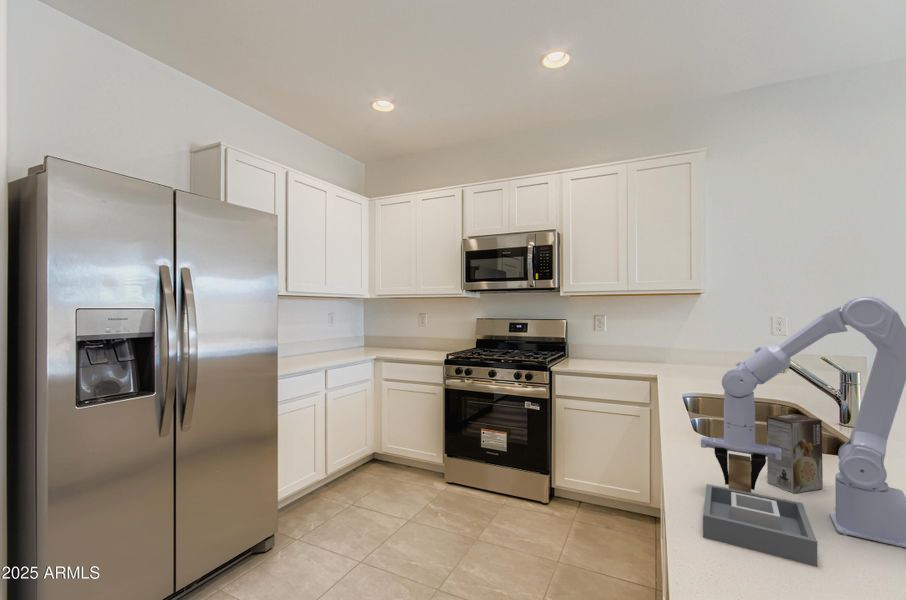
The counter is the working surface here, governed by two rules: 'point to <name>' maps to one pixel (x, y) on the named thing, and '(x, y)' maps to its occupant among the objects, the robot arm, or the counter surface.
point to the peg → (739, 472)
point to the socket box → (759, 523)
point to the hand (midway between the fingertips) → (739, 485)
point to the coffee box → (795, 452)
